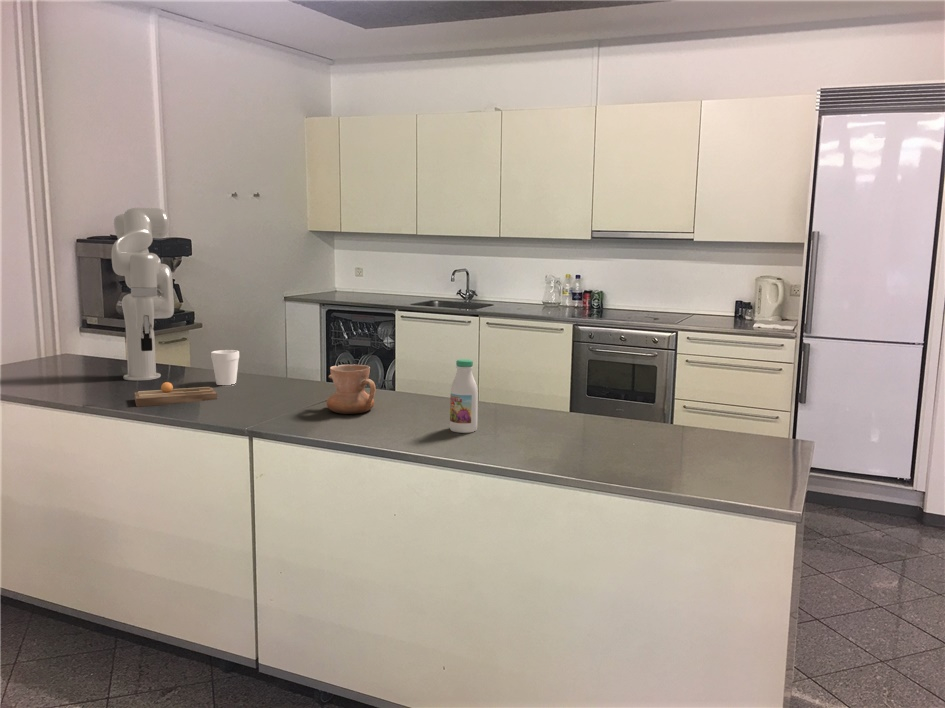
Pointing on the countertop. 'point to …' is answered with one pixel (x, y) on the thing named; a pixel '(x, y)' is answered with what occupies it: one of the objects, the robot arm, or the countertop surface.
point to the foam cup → (225, 366)
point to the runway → (174, 396)
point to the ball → (166, 387)
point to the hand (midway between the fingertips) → (146, 350)
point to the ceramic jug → (351, 389)
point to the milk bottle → (464, 399)
